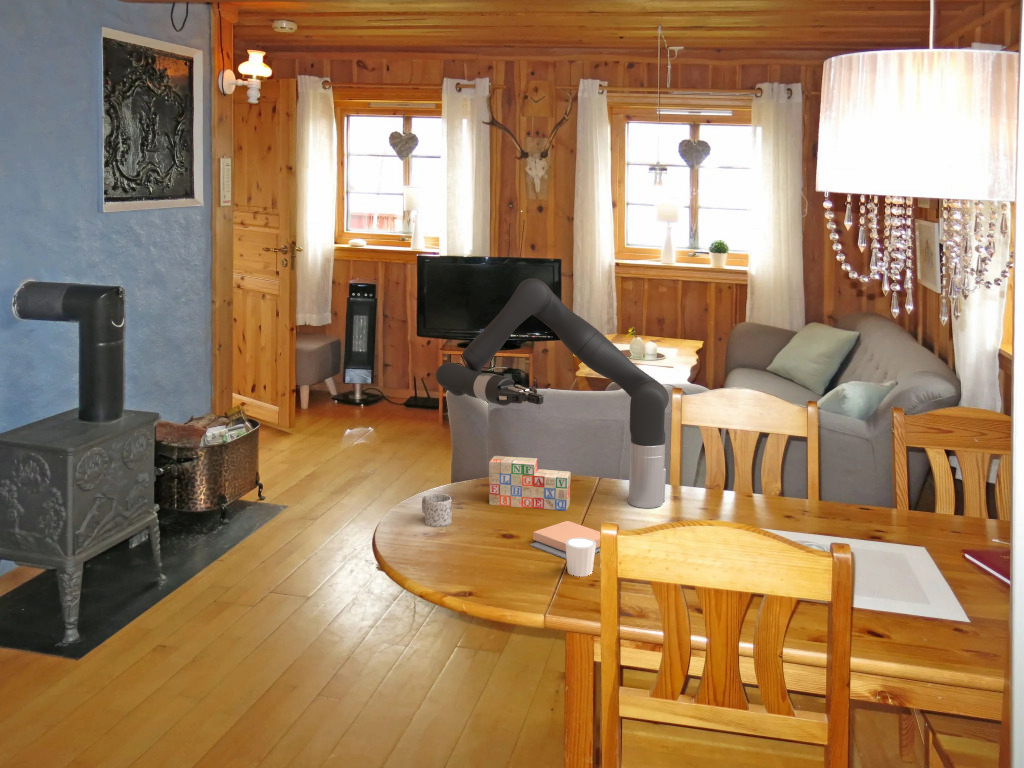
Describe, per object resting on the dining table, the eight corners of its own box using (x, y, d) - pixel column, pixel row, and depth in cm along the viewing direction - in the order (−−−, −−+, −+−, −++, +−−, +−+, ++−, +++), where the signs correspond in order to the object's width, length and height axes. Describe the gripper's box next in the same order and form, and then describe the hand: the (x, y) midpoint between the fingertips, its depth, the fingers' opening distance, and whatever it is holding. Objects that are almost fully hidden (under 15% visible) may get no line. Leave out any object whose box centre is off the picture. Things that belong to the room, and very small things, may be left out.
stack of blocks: (570, 504, 280) (571, 460, 278) (566, 511, 274) (567, 467, 272) (493, 497, 285) (494, 454, 282) (488, 504, 279) (488, 460, 276)
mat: (575, 530, 260) (575, 528, 260) (618, 545, 250) (618, 543, 250) (530, 545, 249) (530, 544, 249) (572, 562, 239) (572, 560, 239)
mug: (456, 523, 264) (456, 498, 262) (435, 529, 259) (435, 504, 258) (433, 513, 271) (433, 489, 270) (412, 518, 267) (412, 494, 265)
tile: (567, 520, 258) (609, 535, 249) (567, 529, 259) (609, 544, 249) (533, 531, 250) (575, 547, 240) (533, 541, 251) (575, 557, 241)
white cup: (593, 565, 237) (594, 537, 235) (596, 577, 230) (597, 548, 229) (563, 566, 237) (564, 537, 235) (566, 577, 230) (566, 548, 228)
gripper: (475, 378, 266) (522, 389, 254) (513, 371, 275) (560, 381, 263) (475, 406, 268) (522, 418, 256) (512, 399, 277) (559, 410, 265)
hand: (541, 400), depth 259 cm, fingers closed
